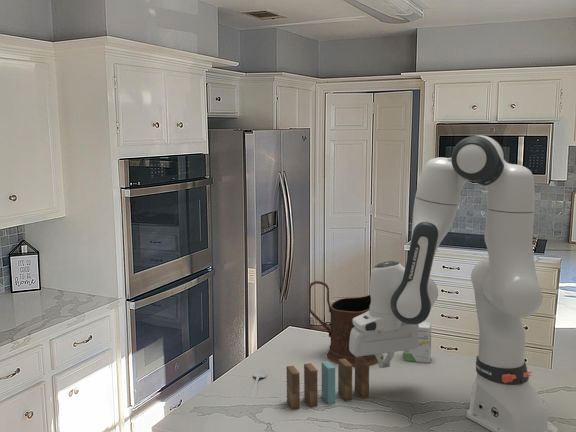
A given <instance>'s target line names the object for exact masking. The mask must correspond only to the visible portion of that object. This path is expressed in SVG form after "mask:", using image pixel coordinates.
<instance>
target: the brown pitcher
mask: <svg viewBox="0 0 576 432" xmlns="http://www.w3.org/2000/svg"><path fill="white" fill-rule="evenodd" d="M316 284H318V285H322V286H324V287H325V288H326V303H327V305H328V313H330V328H329V327H328V325H326V324H325V322H323V320H321V319H320V318H319V317H318V315H316V313H315V312H314V311H312V287H313V286H314V285H316ZM370 303H371V297H370V294H369V295H364V296H359V297H345V298H339V299H337V300H334V301H333V302H332V303H330V287H329V286H328V284H327V283H326V282H324V281H321V280H314V281H312V282H311V283H309V286H308V309H309V310H308V311H309V313H310V314H311V315H312V317H314V318H315V319H316V320H317V322H318V323H319V324H321V325H322V327H323V328H324V329H325V330H326V331H327V332H328V337H329V338H330V345H329V349H328V350H327V352H326V355H327V356H326V358H327V359H328V361H329V362H330V363H331V362H332V363H334V364H335V365H338V359H344V358H345V359H346V360H347V361H348V362H349V363H350V364H352V368H355V357H356V356H354V355H353V354H352V353H351V352H350V350H349V340H350V333H351V330H352V328H353V327H355V326H354V325H353V322H352V321H353V318H355V317H357V316H359V315H361V314H364V313H366V312H367V311H369V307H370ZM362 357H363V358H364V359H365V360H367V361H368V362H369V367H371V366H375V365H378V360H377V358H376V356H375V354H374V355H366V356H362ZM381 359H382V360H384V353H382V357H381Z"/></svg>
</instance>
